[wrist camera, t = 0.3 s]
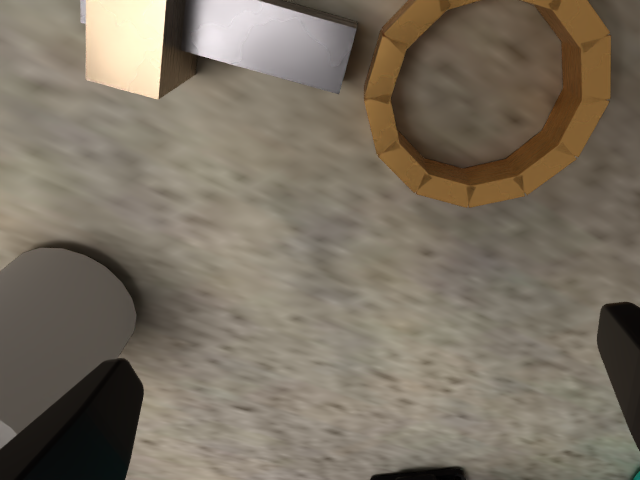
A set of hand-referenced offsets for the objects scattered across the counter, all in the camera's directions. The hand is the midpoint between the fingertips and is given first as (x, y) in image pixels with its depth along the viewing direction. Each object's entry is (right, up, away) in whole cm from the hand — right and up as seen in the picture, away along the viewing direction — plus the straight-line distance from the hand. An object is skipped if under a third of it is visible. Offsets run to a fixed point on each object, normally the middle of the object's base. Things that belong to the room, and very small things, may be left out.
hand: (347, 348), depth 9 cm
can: (-14, -1, +19) cm, 24 cm away
